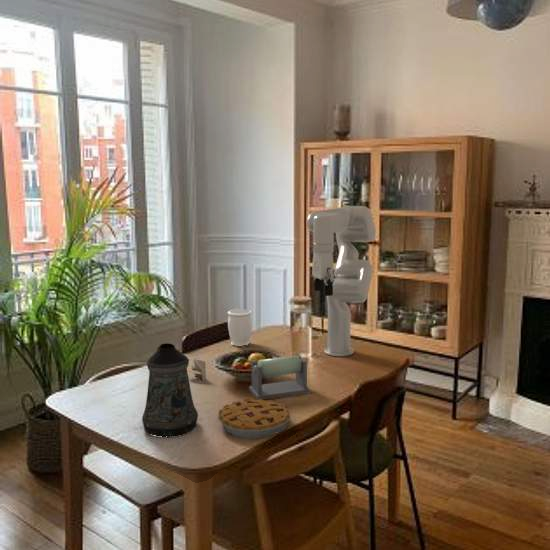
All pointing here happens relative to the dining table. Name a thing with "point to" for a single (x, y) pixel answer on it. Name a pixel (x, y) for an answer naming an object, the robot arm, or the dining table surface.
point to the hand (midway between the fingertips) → (323, 293)
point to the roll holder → (278, 384)
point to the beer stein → (169, 394)
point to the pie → (254, 418)
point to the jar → (239, 326)
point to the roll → (280, 366)
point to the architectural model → (198, 369)
